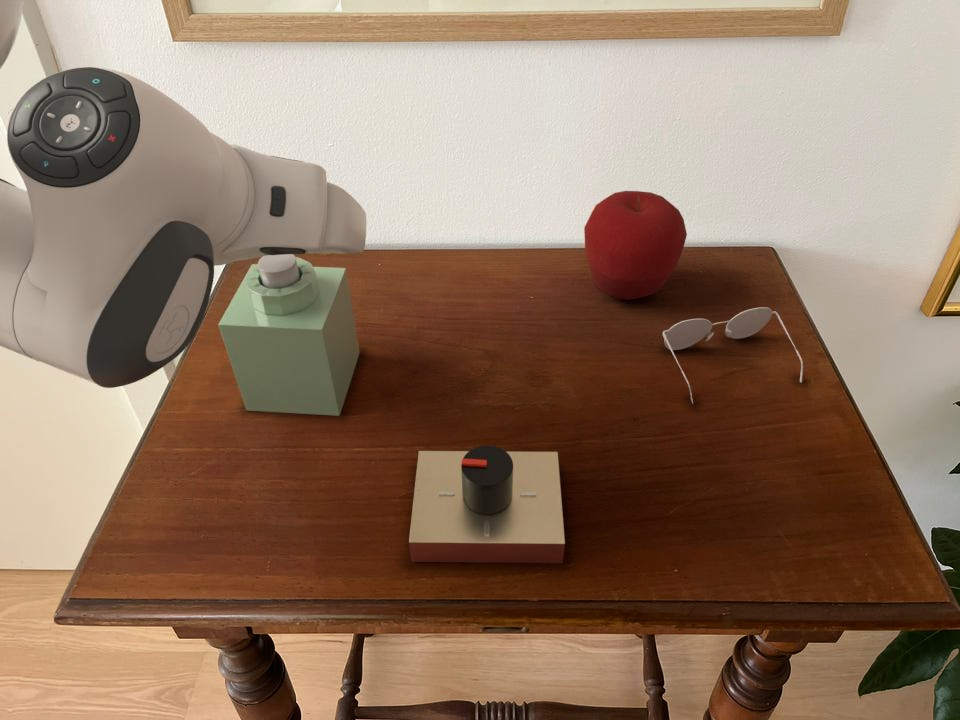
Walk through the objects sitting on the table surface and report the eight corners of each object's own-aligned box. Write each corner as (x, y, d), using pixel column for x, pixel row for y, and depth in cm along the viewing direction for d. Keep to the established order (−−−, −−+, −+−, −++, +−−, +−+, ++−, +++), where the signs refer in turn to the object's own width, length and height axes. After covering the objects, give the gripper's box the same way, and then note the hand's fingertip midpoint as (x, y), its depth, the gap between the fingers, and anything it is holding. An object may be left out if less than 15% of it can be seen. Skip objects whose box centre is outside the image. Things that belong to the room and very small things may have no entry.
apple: (611, 331, 85) (625, 233, 76) (560, 278, 93) (568, 184, 84) (693, 303, 89) (716, 207, 80) (638, 255, 97) (653, 162, 88)
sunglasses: (764, 333, 84) (780, 303, 80) (801, 389, 79) (819, 361, 75) (654, 353, 82) (664, 323, 78) (684, 412, 77) (696, 384, 73)
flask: (339, 416, 75) (318, 310, 66) (246, 410, 76) (211, 305, 67) (359, 352, 83) (343, 248, 73) (274, 348, 83) (246, 245, 74)
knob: (513, 475, 65) (514, 444, 62) (510, 516, 62) (511, 485, 59) (465, 472, 66) (464, 441, 63) (459, 512, 62) (458, 481, 59)
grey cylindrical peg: (294, 290, 69) (290, 272, 67) (257, 289, 69) (252, 271, 68) (304, 268, 71) (300, 251, 70) (268, 267, 72) (264, 249, 70)
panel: (562, 563, 62) (565, 542, 60) (411, 562, 62) (408, 541, 60) (555, 472, 69) (557, 450, 67) (420, 470, 70) (418, 449, 68)
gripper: (68, 239, 54) (162, 270, 68) (337, 250, 53) (377, 280, 66) (75, 156, 54) (167, 204, 68) (342, 164, 53) (381, 212, 67)
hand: (273, 241), depth 67 cm, fingers closed
